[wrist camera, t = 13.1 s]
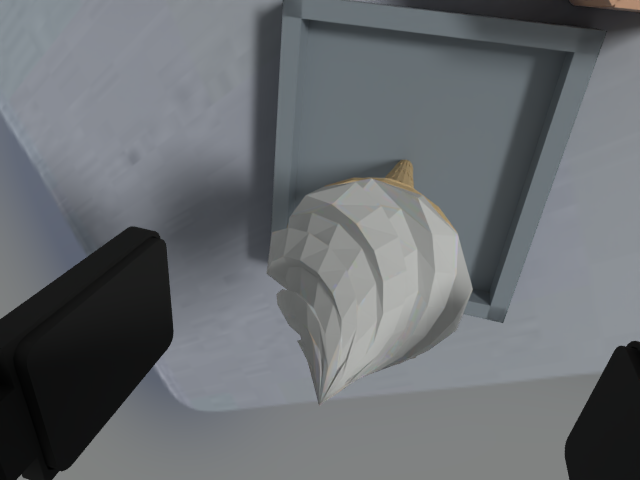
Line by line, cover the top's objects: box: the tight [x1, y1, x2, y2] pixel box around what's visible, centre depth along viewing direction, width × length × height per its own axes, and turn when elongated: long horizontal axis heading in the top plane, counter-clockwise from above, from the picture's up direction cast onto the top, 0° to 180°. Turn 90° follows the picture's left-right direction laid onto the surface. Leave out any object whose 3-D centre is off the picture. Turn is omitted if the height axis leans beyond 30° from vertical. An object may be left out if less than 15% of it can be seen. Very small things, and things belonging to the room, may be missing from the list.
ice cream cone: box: [267, 160, 473, 406], centre depth 15 cm, size 6×6×15 cm
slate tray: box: [270, 0, 607, 323], centre depth 22 cm, size 13×12×2 cm
